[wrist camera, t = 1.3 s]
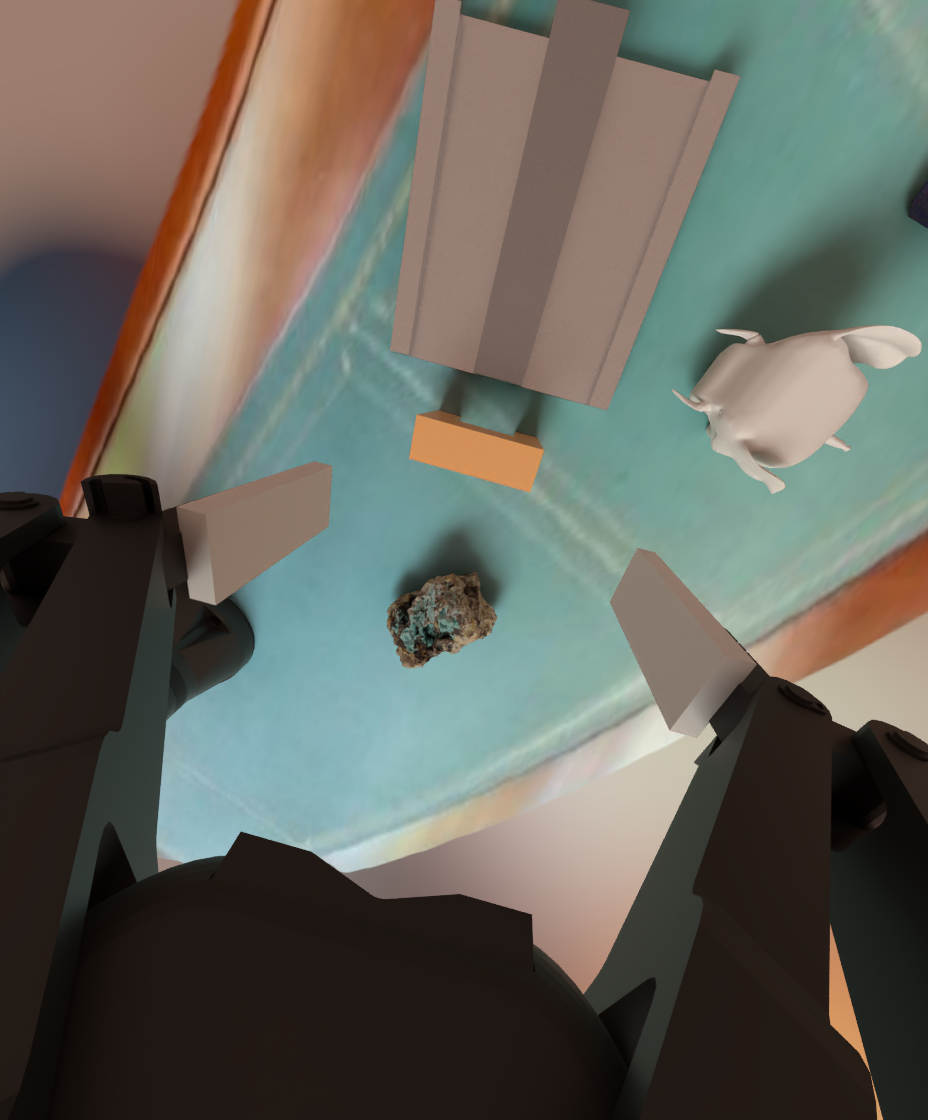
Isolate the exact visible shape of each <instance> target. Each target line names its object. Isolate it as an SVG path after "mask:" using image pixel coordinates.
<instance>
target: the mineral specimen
mask: <svg viewBox="0 0 928 1120" xmlns="http://www.w3.org/2000/svg"><path fill="white" fill-rule="evenodd" d="M480 586H481V584H480V580H479V577H478V576H477V572H473V573H470V574H464V575H463V576H457V575H455V574H454V573H452V574H449V575H446V576H436V578H435V579H433V578H432V579H430V580H428V581H427V582H426V583H425V585H424V586H423V588H422V589H421V590H416V591H414V592H412V593H405V594H403V595H402V596H400V597H399V598H398V599H397V600H396V601H395V602H394V603H392V604H391V605H390V607H389V608H388V610H387V612H388V616H389V617H388V619H387V627H388V629H389V631H390V633H391V635H392V636H393V638H394V644H395V645H397V646H398V648H397V650H396V653H397V655H399V656H400V661H401V662H402V666H404V667H407V668H415V667H423V665H424V664H425V663H427V662H428V661H429V660H430V658H432V657H434V656H437V655H439V654H440V653H441V652H443V651H447V652H450V653H451V654H455V653H458V652H459V651H460V649H461V647H463V646H465V645H467V644H468V643H471V642H473V641H475V640H477V639H483V637H485V636H486V635H489V634H490V633H492V627H493V626H494V625H495V621H496V619H497V616H496V614H495V611H494V609H493V608H492V607H491V606H490V605H489V604H488V603H487V602H486V601H485V600H484V599H483V597H482V595H481V593H480Z"/></svg>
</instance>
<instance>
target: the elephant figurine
mask: <svg viewBox="0 0 928 1120" xmlns="http://www.w3.org/2000/svg"><path fill="white" fill-rule="evenodd" d="M717 331H719V332H721V333H724V334H730V335H736V336H741V337H743V338H745V339H746V340H747V342H746V343H745V344H740V343H735V344H732V345H730V346H729V347H727V348H726V349H725V350H724V351H722V352H721V353H720V354H719V355H718V357H717V358H716V359H715V360H714V362H713V363H712V364H711V366H710V367H709V369H708V370H707V371H706V373H705V374H704V375H703V377H702V378H701V379H700V380H699V382H698V383H697V384H696V385H695V387H694V388H693V390H692V391H691V393H690V400H689V399H687V398H686V397H684V396H682V395H681V394H679V393H678V392H677V391H675V390H674V389H672V391H673V392H674V393H675V394H676V395H677V396H678V398H679V399H680V400H681V401H683V402H684V403H686V404H687V405H689V406H690V407H692V408H693V409H695V410H697V411H698V410H699V411H700V412H702V411H705V413H706V414H707V416H708V419H709V422H710V424H709V425H708V427H707V428H706V433H707V434H708V436H709V437H710V438H711V439H712V440H711V447H712V449H713V450H714V451H716V452H718V453H721V454H724V455H727V456H729V457H732V458H734V459H735V461H736V462H737V464H738V465H739V466H740V467H741V469H742V470H743V471H744V472H745V473H747V474H748V475H749V476H751V477H752V478H754V479H756V480H759V481H763V482H765V484H766V485H767V487H768V488H769V490H770V492H771V494H773V493H775V492H778V491H781V490H783V489H784V488H785V483H784V482H783V481H782V480H781V479H780V478H779V477H777V476H776V475H774V474H773V473H771V472H770V471H768V470H767V469H765V468H763V467H762V466H764V467H769V468H784V467H789V466H792V465H795V464H797V463H799V462H801V461H803V460H805V459H806V458H807V457H809V456H810V455H812V454H813V453H814V452H815V451H816V450H818V449H819V448H820V447H821V446H822V445H823V444H824V443H826V444H828V445H831V446H834V447H836V448H842V449H843V450H844V451H848V450H850V448H851V446H846V444H845V442H844V441H842V440H841V439H839V438H838V437H836V436H834V433H835V432H836V431H837V430H838V429H839V428H840V427H841V426H842V425H843V424H844V423H845V422H846V421H847V420H848V418H849V417H850V416H851V415H852V414H853V412H854V411H855V410H856V408H857V407H858V405H859V404H860V402H861V401H862V399H863V398H864V396H865V394H866V391H867V389H868V382H867V380H866V378H865V377H864V375H863V373H862V372H861V371H860V370H859V369H858V368H857V367H856V366H855V365H854V364H853V363H852V362H856V363H865V364H867V365H870V366H872V367H874V368H879V369H886V368H891V367H894V366H895V365H897V364H899V363H900V362H902V361H903V360H904V359H905V358H907V357H908V356H910V357H915V356H917V355H918V354H919V353H920V351H921V347H922V345H921V342H920V340H919V339H918V338H917V337H916V336H915V335H913V334H911V333H910V332H907V331H905V330H903V329H900V328H897V327H893V326H884V325H871V326H859V327H852V328H847V329H841V330H829V331H817V332H809V333H804V334H799V335H795V336H791V337H788V338H785V339H782V340H779V341H776V342H773V343H768V344H766V343H765V342H764V339H763V338H762V336H761V335H758V334H759V333H757V332H753V331H747V330H739V329H717Z"/></svg>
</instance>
